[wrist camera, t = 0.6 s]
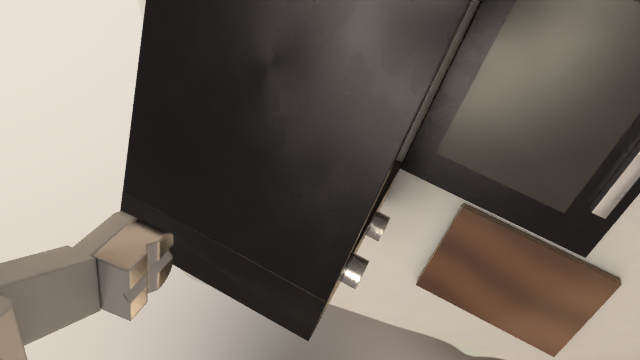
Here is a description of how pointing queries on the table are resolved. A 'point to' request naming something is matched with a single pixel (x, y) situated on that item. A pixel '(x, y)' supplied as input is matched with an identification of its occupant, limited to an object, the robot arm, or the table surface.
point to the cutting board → (515, 280)
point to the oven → (372, 130)
